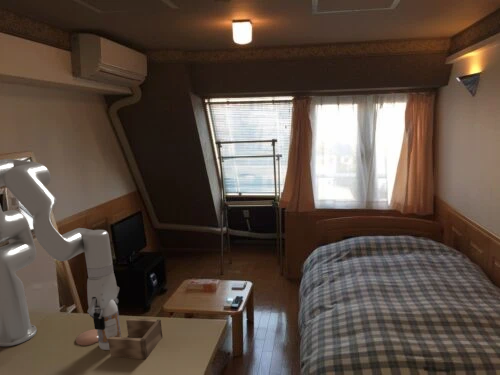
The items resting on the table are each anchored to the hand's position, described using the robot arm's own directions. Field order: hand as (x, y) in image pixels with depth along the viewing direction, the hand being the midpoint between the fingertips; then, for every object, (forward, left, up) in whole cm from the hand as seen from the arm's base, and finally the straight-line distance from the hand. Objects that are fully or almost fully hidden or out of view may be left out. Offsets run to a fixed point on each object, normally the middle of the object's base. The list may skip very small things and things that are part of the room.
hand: (107, 321), depth 132 cm
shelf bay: (+9, 0, -8) cm, 12 cm away
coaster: (-9, +3, -8) cm, 12 cm away
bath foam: (0, 0, -8) cm, 8 cm away
